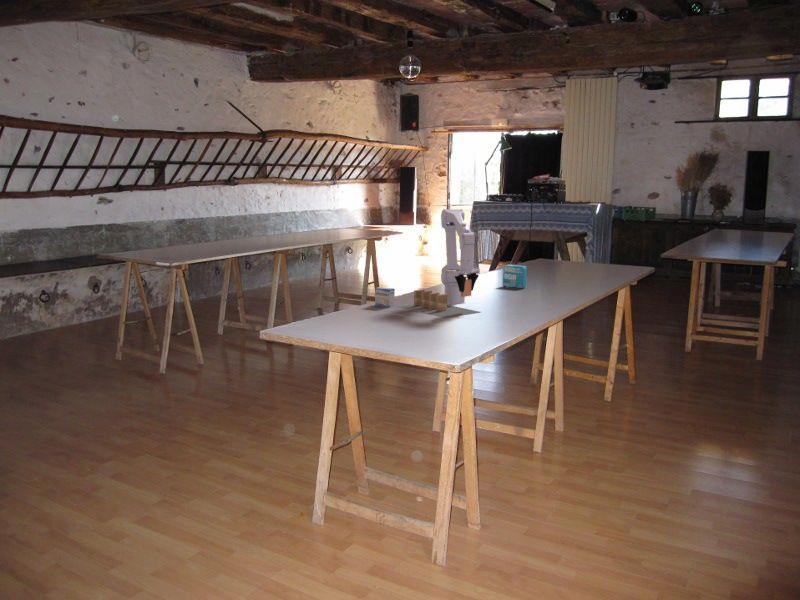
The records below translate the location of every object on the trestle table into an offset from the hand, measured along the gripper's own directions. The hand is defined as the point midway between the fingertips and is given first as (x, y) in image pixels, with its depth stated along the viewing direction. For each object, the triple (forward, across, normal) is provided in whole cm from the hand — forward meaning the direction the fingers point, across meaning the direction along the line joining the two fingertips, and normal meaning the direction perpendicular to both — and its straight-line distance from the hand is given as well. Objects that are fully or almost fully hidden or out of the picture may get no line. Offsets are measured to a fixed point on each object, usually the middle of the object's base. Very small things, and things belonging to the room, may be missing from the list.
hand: (466, 291), depth 299 cm
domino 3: (+9, -7, +13) cm, 17 cm away
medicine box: (+10, -20, +32) cm, 39 cm away
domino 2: (+9, -7, +18) cm, 21 cm away
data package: (+10, +72, +34) cm, 80 cm away
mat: (+10, -6, +11) cm, 16 cm away
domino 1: (+9, -7, +23) cm, 26 cm away
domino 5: (+2, 0, 0) cm, 2 cm away
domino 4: (+9, -7, +8) cm, 14 cm away
